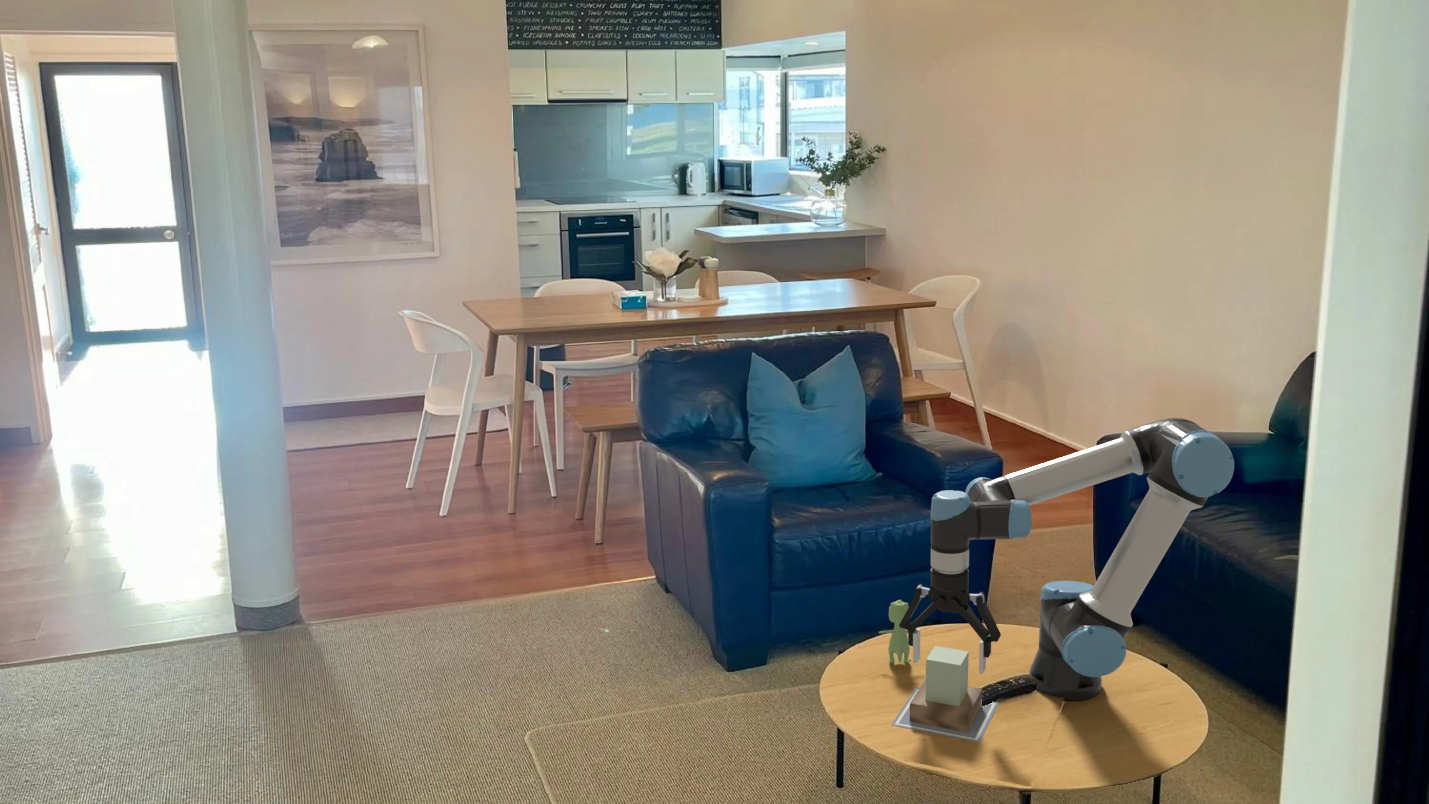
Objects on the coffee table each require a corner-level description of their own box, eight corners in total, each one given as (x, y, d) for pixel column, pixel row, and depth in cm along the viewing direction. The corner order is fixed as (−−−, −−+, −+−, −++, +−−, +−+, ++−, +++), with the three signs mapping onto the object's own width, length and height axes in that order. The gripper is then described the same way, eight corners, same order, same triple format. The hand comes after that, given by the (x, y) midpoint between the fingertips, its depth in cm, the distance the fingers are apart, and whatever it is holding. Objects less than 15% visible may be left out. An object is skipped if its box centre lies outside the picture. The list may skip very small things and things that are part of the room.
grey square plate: (999, 705, 247) (999, 702, 247) (979, 745, 231) (979, 742, 231) (915, 690, 254) (915, 687, 254) (890, 727, 239) (891, 724, 239)
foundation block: (981, 706, 245) (982, 688, 245) (968, 732, 235) (968, 714, 234) (925, 695, 250) (925, 678, 250) (909, 721, 240) (909, 703, 239)
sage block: (967, 691, 243) (968, 651, 241) (959, 706, 237) (960, 665, 235) (934, 685, 246) (935, 645, 244) (925, 700, 240) (926, 659, 238)
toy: (899, 654, 272) (898, 592, 269) (923, 665, 266) (923, 603, 263) (876, 662, 268) (876, 600, 265) (900, 674, 262) (900, 610, 259)
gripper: (1016, 568, 234) (1014, 667, 238) (894, 554, 244) (895, 649, 249) (1008, 581, 227) (1006, 683, 232) (884, 566, 238) (884, 663, 242)
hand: (949, 665), depth 240 cm, fingers open, 13 cm apart
